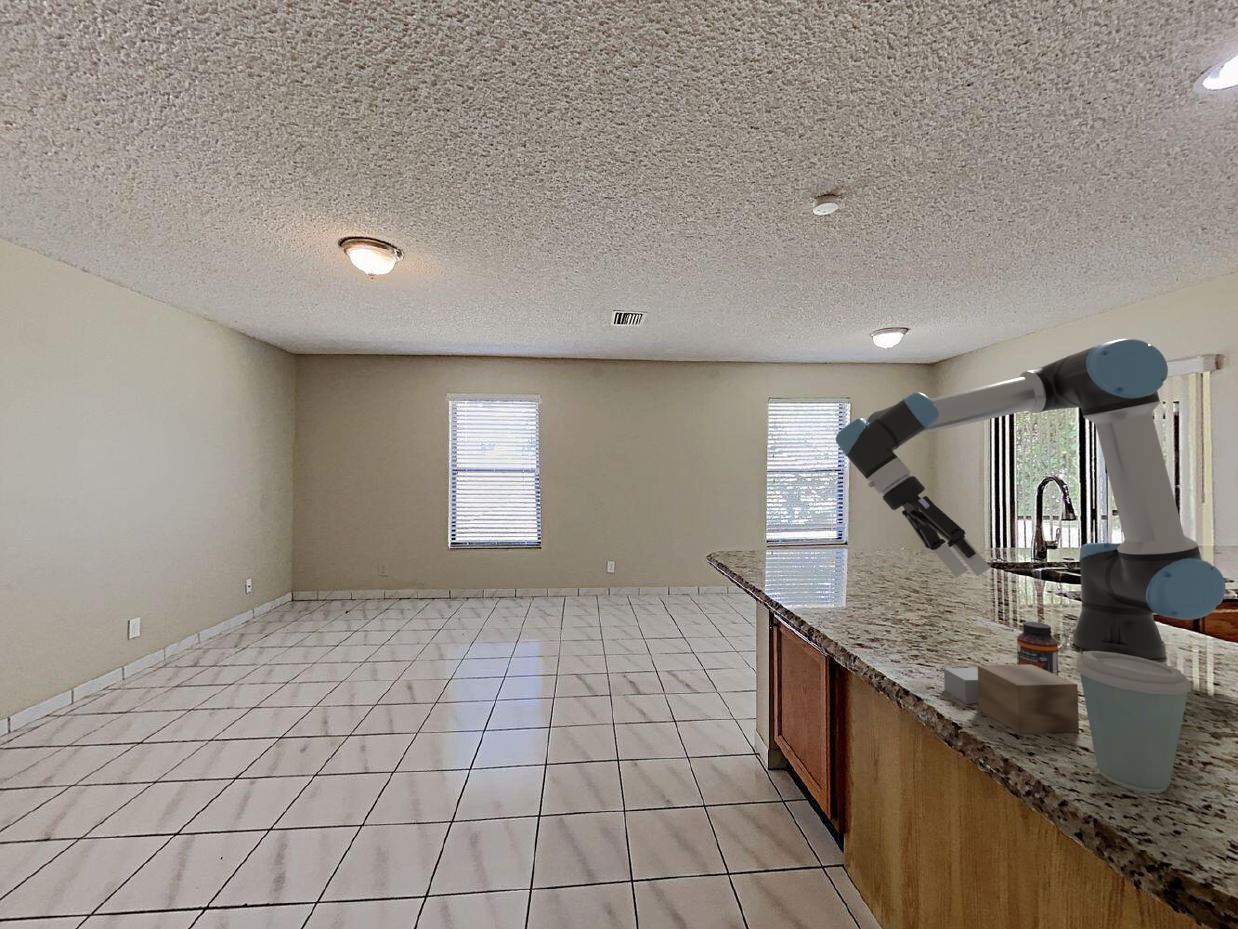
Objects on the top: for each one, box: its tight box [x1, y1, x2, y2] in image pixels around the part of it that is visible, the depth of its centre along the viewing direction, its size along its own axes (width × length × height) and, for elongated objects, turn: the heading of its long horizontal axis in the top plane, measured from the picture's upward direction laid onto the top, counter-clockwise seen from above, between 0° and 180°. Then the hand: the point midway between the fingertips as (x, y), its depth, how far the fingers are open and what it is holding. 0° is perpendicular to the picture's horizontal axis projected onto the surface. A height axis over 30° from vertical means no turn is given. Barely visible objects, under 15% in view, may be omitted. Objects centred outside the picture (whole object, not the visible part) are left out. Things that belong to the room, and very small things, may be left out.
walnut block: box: [977, 664, 1080, 735], centre depth 88 cm, size 9×9×7 cm
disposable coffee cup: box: [1076, 650, 1192, 794], centre depth 70 cm, size 11×11×15 cm
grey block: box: [943, 667, 979, 704], centre depth 98 cm, size 6×6×4 cm
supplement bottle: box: [1016, 621, 1059, 676], centre depth 102 cm, size 6×6×11 cm
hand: (972, 573), depth 109 cm, fingers open, 13 cm apart
